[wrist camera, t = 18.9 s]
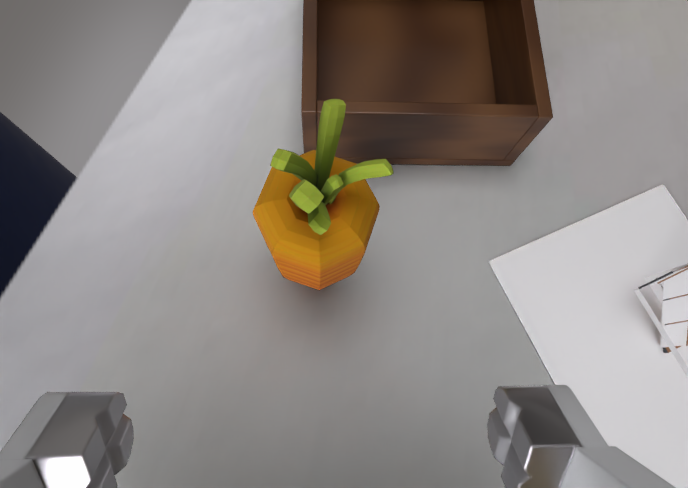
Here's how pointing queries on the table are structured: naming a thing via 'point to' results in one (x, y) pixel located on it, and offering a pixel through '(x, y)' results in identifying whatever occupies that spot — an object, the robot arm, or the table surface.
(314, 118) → the basket
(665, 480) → the robot arm
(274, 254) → the carrot
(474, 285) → the table surface
